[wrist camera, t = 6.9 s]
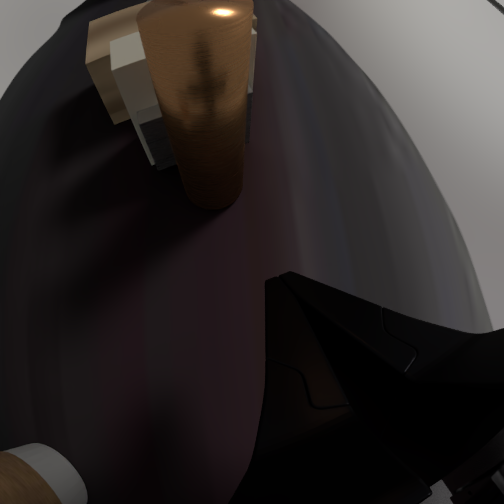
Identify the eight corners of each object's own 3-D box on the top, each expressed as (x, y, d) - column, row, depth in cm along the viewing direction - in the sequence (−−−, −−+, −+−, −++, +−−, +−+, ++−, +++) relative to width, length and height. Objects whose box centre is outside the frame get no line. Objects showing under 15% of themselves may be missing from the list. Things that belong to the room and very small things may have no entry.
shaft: (270, 193, 17) (312, 17, 6) (173, 225, 17) (95, 63, 5) (185, 20, 23) (177, -71, 12) (130, 35, 22) (108, -54, 11)
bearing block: (252, 84, 20) (257, 18, 14) (114, 124, 19) (85, 64, 13) (225, 41, 22) (225, -14, 16) (109, 74, 20) (89, 22, 14)
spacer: (249, 135, 19) (257, 33, 11) (151, 165, 18) (111, 70, 10) (234, 106, 20) (236, 9, 12) (144, 133, 19) (109, 41, 11)
